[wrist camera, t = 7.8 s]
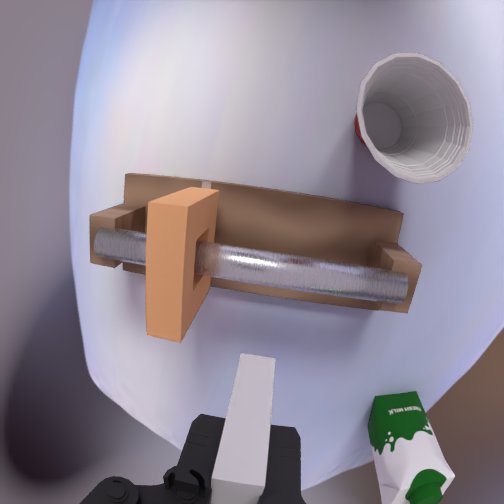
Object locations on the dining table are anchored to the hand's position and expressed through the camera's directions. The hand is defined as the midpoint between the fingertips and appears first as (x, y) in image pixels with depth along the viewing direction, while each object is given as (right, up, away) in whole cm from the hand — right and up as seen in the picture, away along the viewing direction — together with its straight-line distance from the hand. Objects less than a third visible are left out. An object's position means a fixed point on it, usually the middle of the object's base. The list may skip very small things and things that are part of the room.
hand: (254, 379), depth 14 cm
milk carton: (+22, -19, +29) cm, 41 cm away
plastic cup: (+14, +20, +18) cm, 30 cm away
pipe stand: (0, +7, +23) cm, 24 cm away
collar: (-6, +7, +20) cm, 22 cm away
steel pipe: (0, +5, +16) cm, 17 cm away
